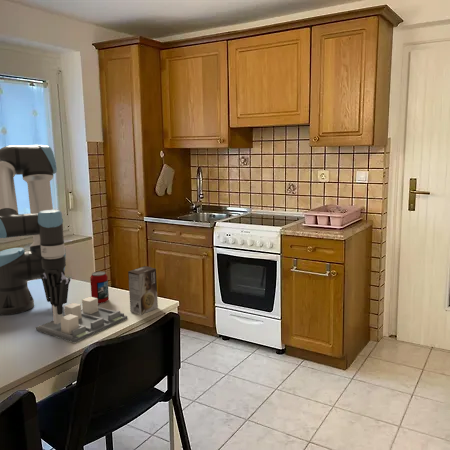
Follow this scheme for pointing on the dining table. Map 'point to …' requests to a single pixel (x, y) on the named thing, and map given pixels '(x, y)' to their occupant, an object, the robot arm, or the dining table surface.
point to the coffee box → (143, 290)
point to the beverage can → (99, 286)
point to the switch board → (85, 325)
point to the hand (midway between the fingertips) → (58, 322)
